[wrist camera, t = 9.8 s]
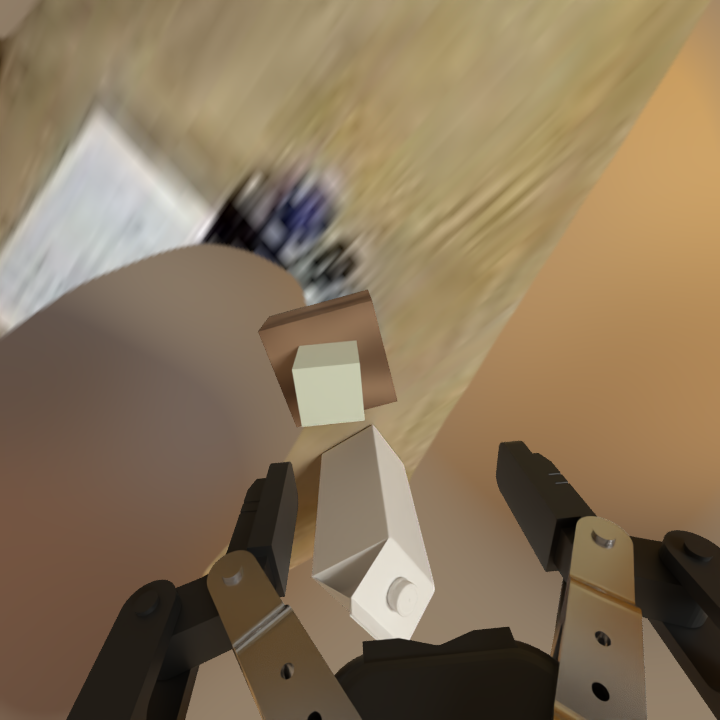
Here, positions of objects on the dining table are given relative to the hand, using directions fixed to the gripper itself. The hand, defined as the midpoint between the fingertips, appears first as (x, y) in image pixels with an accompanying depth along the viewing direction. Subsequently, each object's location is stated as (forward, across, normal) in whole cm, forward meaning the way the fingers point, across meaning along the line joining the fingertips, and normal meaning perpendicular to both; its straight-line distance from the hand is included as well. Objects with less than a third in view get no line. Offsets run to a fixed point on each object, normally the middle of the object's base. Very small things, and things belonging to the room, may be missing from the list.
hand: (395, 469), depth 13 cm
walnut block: (+23, +3, +4) cm, 23 cm away
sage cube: (+18, +3, +4) cm, 18 cm away
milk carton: (+22, +1, +18) cm, 29 cm away
